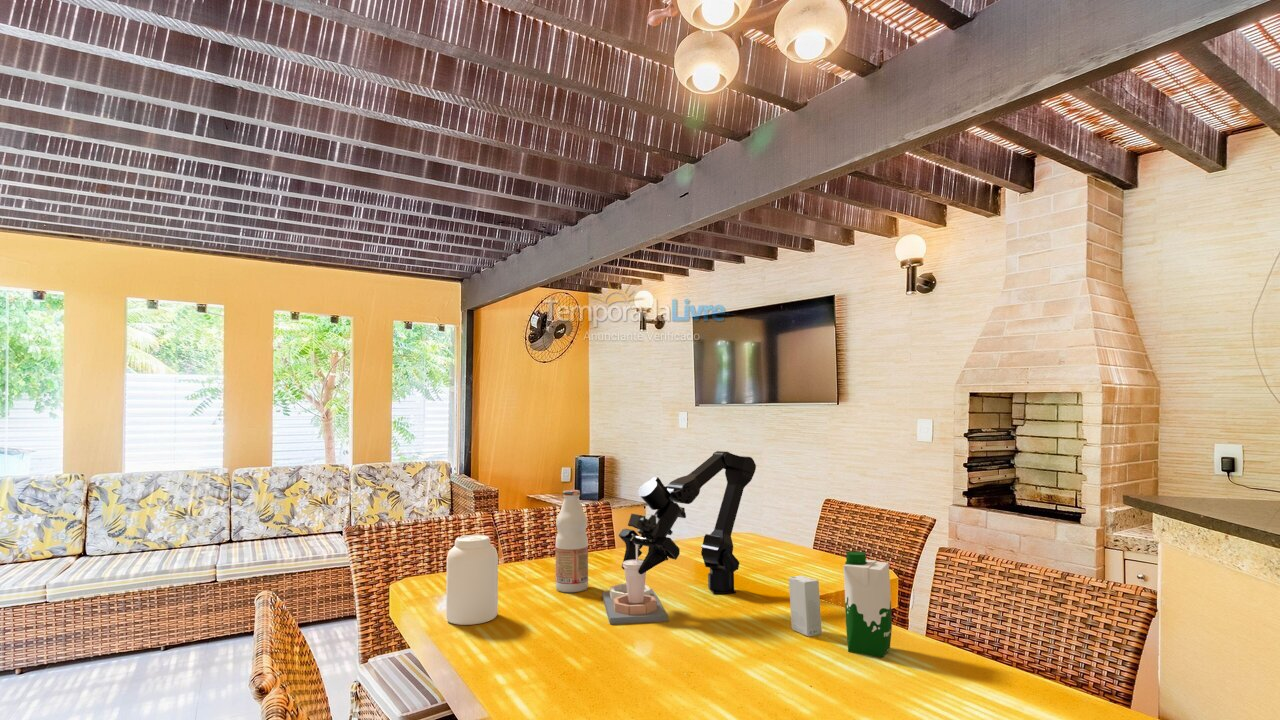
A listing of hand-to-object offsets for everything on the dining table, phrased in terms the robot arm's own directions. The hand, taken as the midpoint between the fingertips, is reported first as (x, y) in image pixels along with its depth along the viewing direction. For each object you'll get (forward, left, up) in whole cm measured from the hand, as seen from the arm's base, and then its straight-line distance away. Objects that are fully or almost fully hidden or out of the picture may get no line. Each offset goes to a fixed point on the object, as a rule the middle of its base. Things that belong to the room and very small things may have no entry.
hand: (631, 571), depth 168 cm
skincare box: (-38, +19, -11) cm, 44 cm away
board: (-1, -6, -11) cm, 12 cm away
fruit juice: (+14, -28, -11) cm, 33 cm away
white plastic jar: (+40, -5, -11) cm, 41 cm away
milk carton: (-47, +32, -11) cm, 58 cm away
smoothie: (-1, -1, -8) cm, 8 cm away
